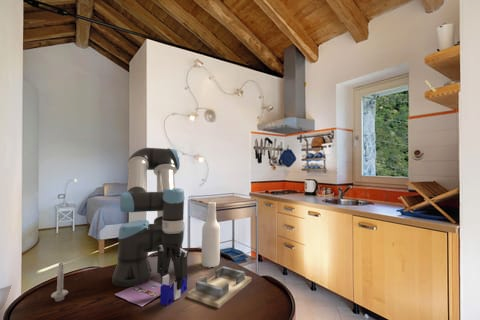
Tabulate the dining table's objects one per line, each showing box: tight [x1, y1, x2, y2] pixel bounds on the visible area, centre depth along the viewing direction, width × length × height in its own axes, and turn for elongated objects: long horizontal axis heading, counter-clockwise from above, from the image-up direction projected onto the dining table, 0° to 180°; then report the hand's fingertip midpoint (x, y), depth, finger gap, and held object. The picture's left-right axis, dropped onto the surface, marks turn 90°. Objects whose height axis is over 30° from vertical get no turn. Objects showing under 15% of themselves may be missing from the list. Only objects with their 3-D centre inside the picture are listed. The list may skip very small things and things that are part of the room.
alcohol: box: [200, 201, 221, 269], centre depth 122 cm, size 9×9×30 cm
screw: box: [50, 261, 69, 303], centre depth 88 cm, size 13×5×5 cm
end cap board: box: [186, 265, 253, 309], centre depth 98 cm, size 14×24×4 cm, turn 150°
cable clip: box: [159, 277, 188, 306], centre depth 92 cm, size 12×4×6 cm, turn 159°
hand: (171, 295), depth 91 cm, fingers closed on cable clip, 5 cm apart
